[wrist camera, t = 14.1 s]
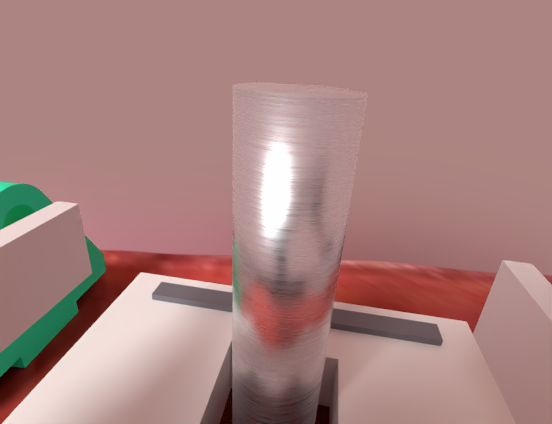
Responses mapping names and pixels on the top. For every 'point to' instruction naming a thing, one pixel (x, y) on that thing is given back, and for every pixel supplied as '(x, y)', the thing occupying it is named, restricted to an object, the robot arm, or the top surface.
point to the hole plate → (218, 365)
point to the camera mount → (13, 207)
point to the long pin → (287, 241)
